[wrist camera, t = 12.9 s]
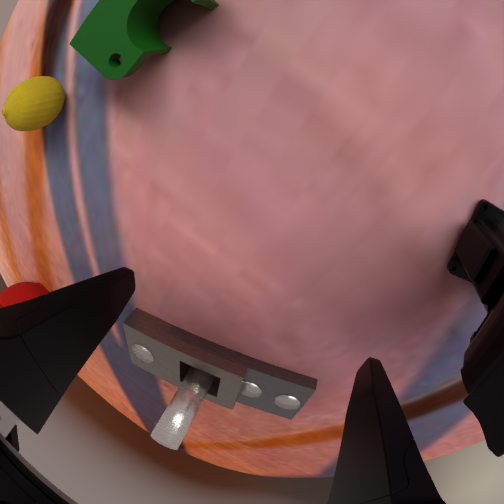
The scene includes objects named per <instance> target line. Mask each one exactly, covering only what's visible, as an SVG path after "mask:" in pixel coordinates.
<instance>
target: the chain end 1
mask: <svg viewBox="0 0 504 504" xmlns="http://www.w3.org/2000/svg"><path fill="white" fill-rule="evenodd" d="M123 326H124V331H125V336H126V340H127V345H128V349H129V353H130V357H131V362H132V363H133V364H135V365H137V366H138V367H140V368H142V369H144V370H146V371H148V372H150V373H151V374H153V375H155V376H157V377H159V378H161V379H163V380H165V381H167V382H169V383H171V384H173V385H176V386H178V387H180V385H181V383H182V382H183V380H184V378H185V377H186V375H187V374H186V373H185V363H186V364H188V365H191V366H193V367H195V368H198V369H200V370H202V371H204V372H207V373H209V374H212V375H214V376H216V377H219V378H221V380H220V384H219V387H216V386H214V385H211V386H210V388H209V390H208V392H207V394H206V396H205V398H204V399H207V400H209V401H212V402H214V403H216V404H219V405H221V406H224V407H227V408H229V409H233V407H234V405H235V402H236V400H237V397H238V394H239V391H240V388H241V385H242V383H243V380H244V377H245V374H246V372H247V369H248V368H247V367H245V366H242V365H239V364H237V363H234V362H232V361H229V360H226V359H224V358H221V357H219V356H217V355H214V354H212V353H209V352H207V351H204V350H202V349H200V348H197V347H195V346H193V345H191V344H188V343H186V342H184V341H182V340H179V339H177V338H175V337H173V336H171V335H169V334H168V332H169V331H170V330H171V328H172V327H173V325H171V324H169V323H167V322H165V321H162V320H160V319H158V318H156V317H154V316H152V315H150V314H148V313H146V312H144V311H142V310H140V309H138V308H136V309H135V310H134V311H133V312H132V313H131V314H130V315H129V317H128V318H127V319H126V320H125V321H124V322H123Z"/></svg>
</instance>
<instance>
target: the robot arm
mask: <svg viewBox="0 0 504 504" xmlns="http://www.w3.org/2000/svg"><path fill="white" fill-rule="evenodd" d="M485 204H486V207H485V208H484V209H483V206H484V205H485ZM453 266H455V267H454V268H453V269H452V267H453ZM447 268H448V270H449V272H450V273H451V274H453V275H456V276H458V277H460V278H463V279H465V280H467V281H469V282H472V283H473V285H474V287H475V289H476V291H477V293H478V295H479V298H480V300H481V302H482V303H483V304H484V306H485V309H486V311H487V313H488V314H487V316H486V317H485V319H484V320H483V322H482V324H481V325H480V327H479V328H478V330H477V331H476V332H474V333H473V335H472V336H471V338H470V345H469V346H468V348H467V350H466V352H465V355H464V363H463V367H462V369H461V375H462V380H463V383H464V386H465V388H466V391H467V393H468V394H469V395H468V396H467V397H466V398H465V399H464V400H463V402H464V404H465V405H466V406H467V407H468V408H469V409H470V410H471V411H472V412H473V413H474V415H475V416H476V418H477V419H478V421H479V422H480V425H481V427H482V430H483V433H484V436H485V439H486V443H487V446H488V448H489V449H490V450H491V451H492V452H493V453H494V454H495V455H496V456H497V457H500V456H502V455H503V454H504V211H503V210H502V209H500V208H498V207H497V206H495V205H493V204H492V203H490V202H488V201H487V200H484V199H483V200H481V201H480V202H479V204H478V206H477V208H476V210H475V213H474V215H473V217H472V219H471V221H470V222H469V223H468V225H467V227H466V229H465V231H464V233H463V235H462V237H461V239H460V241H459V243H458V245H457V247H456V248H455V253H454V254H453V256H452V258H451V260H450V262H449V263H448V266H447ZM134 291H135V276H134V272H133V270H131V269H129V268H127V267H122V268H119V269H116V270H113V271H110V272H107V273H104V274H101V275H98V276H95V277H92V278H89V279H87V280H84V281H81V282H78V283H75V284H72V285H69V286H66V287H64V288H61V289H58V290H55V291H52V292H49V293H47V294H44V295H41V296H38V297H35V298H32V299H29V300H26V301H23V302H19V303H16V304H12V305H8V306H5V307H1V308H0V504H78V503H76V502H75V501H73V500H72V499H71V498H70V497H68V496H67V495H66V494H64V493H63V492H62V491H61V490H59V489H58V488H57V487H56V486H54V485H53V484H52V483H51V482H50V481H48V480H47V479H46V478H45V477H44V476H43V475H41V474H40V473H39V472H38V471H37V470H36V469H35V468H34V467H33V466H31V464H29V463H28V461H26V460H25V459H24V458H23V457H22V456H21V455H20V454H19V443H18V435H17V425H16V423H17V422H18V420H19V419H20V420H21V421H22V422H23V423H24V424H26V425H27V426H28V427H29V428H30V429H32V430H33V431H34V432H35V433H36V434H38V433H39V432H40V430H41V429H42V427H43V425H44V424H45V422H46V421H47V419H48V418H49V416H50V414H51V413H52V411H53V410H54V408H55V407H56V405H57V404H58V402H59V401H60V399H61V397H62V396H63V394H64V393H65V391H66V390H67V388H68V387H69V386H70V384H71V383H72V381H73V380H74V378H75V377H76V375H77V374H78V372H79V371H80V370H81V368H82V367H83V365H84V364H85V363H86V361H87V360H88V358H89V357H90V356H91V354H92V353H93V351H94V350H95V349H96V347H97V346H98V345H99V343H100V342H101V341H102V339H103V338H104V337H105V335H106V334H107V333H108V331H109V330H110V329H111V327H112V326H113V325H114V323H115V322H116V320H117V319H118V317H119V316H120V314H121V312H122V311H123V309H124V307H125V306H126V304H127V302H128V301H129V299H130V298H131V296H132V294H133V293H134ZM413 439H414V438H413V435H412V433H411V430H410V428H409V425H408V423H407V420H406V418H405V416H404V413H403V411H402V408H401V406H400V404H399V401H398V399H397V397H396V395H395V392H394V390H393V388H392V386H391V383H390V381H389V379H388V377H387V375H386V372H385V370H384V368H383V366H382V364H381V362H380V360H378V359H375V358H371V357H369V358H368V359H367V360H366V361H365V362H364V363H363V365H362V366H361V367H360V368H359V370H358V371H357V374H356V377H355V381H354V386H353V390H352V394H351V397H350V401H349V405H348V409H347V413H346V419H345V425H344V431H343V436H342V442H341V447H340V452H339V457H338V462H337V466H336V471H335V475H334V479H333V483H332V487H331V491H330V495H329V499H328V503H327V504H446V503H445V502H444V501H443V500H442V498H441V497H440V495H439V493H438V491H437V489H436V487H435V485H434V483H433V481H432V479H431V477H430V475H429V473H428V471H427V468H426V466H425V464H424V462H423V460H422V457H421V455H420V452H419V450H418V448H417V445H416V442H415V440H413Z"/></svg>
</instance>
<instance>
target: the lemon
mask: <svg viewBox="0 0 504 504" xmlns="http://www.w3.org/2000/svg"><path fill="white" fill-rule="evenodd" d="M64 100H65V94H64V89H63V87H62V85H61V84H60V82H59V81H57V80H56V79H54V78H52V77H48V76H37V77H33V78H30V79H27V80H25V81H23V82H21V83H20V84H18V85H17V86H15V87H14V88H13V90H12V91H11V92H10V93H9V95H8V97H7V99H6V101H5V104H4V108H3V109H2V115H3V116H4V117H5V120H6V122H7V124H8V125H9V126H10V127H11V128H13V129H15V130H18V131H32V130H36V129H39V128H41V127H44V126H46V125H48V124H49V123H51V122H52V121H53V120H54V119H55V118H56V117H57V116H58V114H59V113H60V111H61V110H62V107H63V104H64Z"/></svg>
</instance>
